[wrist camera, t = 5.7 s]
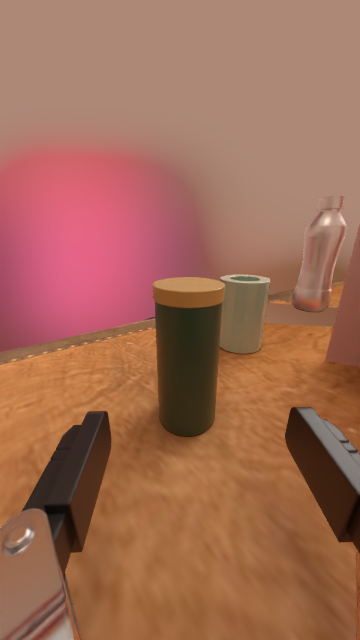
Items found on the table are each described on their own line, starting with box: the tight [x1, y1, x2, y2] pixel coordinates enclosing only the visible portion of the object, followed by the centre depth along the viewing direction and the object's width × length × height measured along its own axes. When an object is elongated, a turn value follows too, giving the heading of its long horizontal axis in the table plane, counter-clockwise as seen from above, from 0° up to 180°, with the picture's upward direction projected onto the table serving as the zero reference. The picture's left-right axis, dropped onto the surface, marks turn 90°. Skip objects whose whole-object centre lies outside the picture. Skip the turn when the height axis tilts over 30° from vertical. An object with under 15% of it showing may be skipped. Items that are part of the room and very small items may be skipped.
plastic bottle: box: [292, 196, 347, 312], centre depth 42 cm, size 6×7×20 cm
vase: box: [219, 275, 270, 354], centre depth 30 cm, size 6×6×9 cm
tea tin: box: [153, 277, 225, 436], centre depth 17 cm, size 5×5×11 cm
